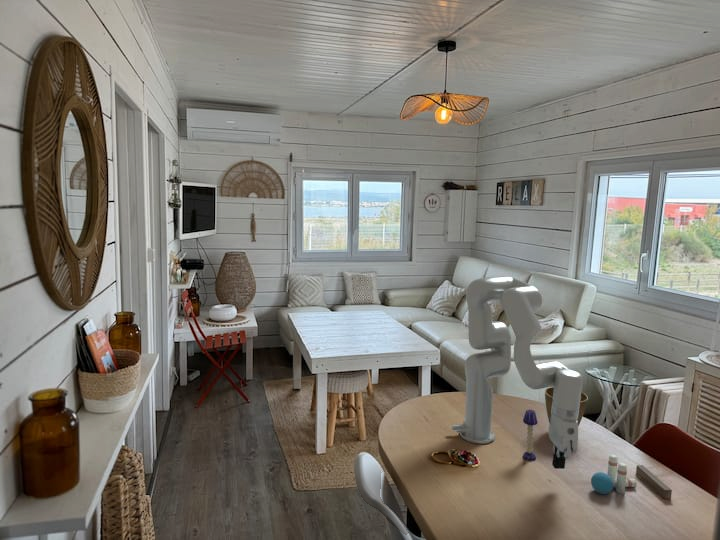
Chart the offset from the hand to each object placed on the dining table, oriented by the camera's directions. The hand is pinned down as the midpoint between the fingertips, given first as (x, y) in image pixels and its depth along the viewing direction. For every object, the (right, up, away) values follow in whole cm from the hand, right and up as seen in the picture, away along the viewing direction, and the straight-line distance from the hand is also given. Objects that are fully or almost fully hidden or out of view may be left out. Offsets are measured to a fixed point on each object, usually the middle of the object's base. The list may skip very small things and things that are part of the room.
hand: (558, 467), depth 152 cm
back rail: (+30, -6, +1) cm, 30 cm away
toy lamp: (-3, -4, +17) cm, 18 cm away
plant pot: (+16, -2, +35) cm, 39 cm away
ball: (+12, -4, -3) cm, 13 cm away
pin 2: (+18, -7, -2) cm, 19 cm away
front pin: (+15, -5, 0) cm, 16 cm away
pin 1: (+18, -6, +3) cm, 19 cm away
